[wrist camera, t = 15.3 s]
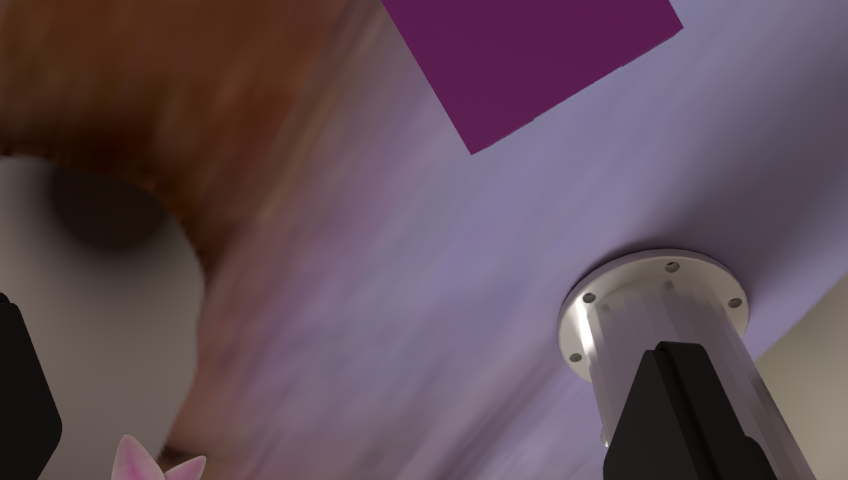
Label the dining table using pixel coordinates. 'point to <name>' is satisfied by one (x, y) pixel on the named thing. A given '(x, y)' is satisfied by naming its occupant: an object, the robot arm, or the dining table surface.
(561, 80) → the mounting bracket
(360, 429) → the dining table surface
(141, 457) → the lily
